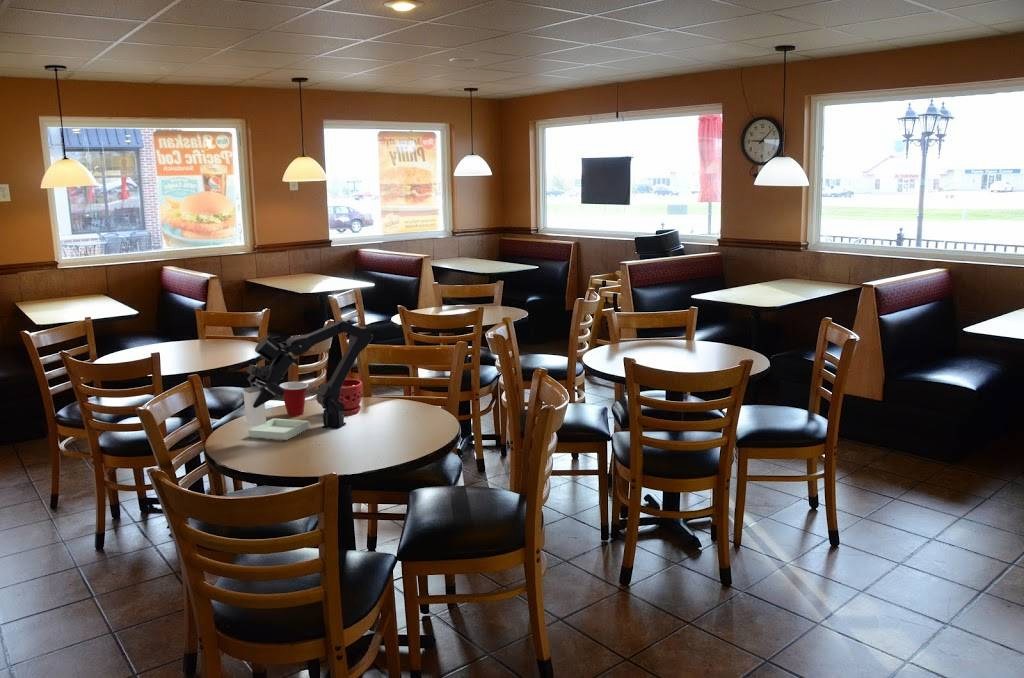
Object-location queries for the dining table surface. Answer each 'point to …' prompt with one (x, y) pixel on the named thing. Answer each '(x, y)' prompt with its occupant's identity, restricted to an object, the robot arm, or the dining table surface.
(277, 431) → the tray
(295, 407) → the plastic cup
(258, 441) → the dining table surface
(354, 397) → the plant pot
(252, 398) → the white rectangular box
